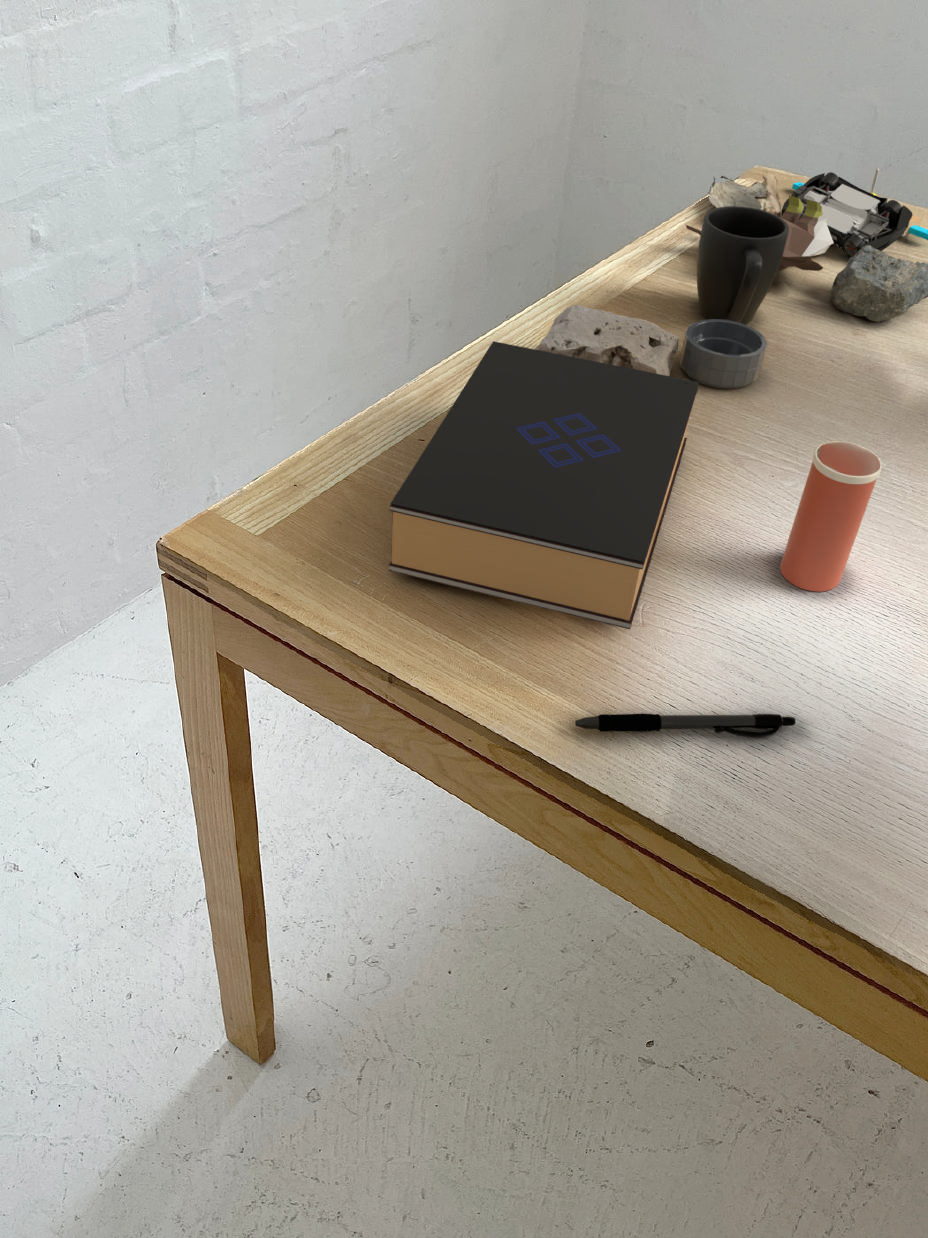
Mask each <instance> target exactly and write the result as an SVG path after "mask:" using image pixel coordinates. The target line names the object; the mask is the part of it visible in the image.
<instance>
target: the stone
mask: <svg viewBox="0 0 928 1238" xmlns="http://www.w3.org/2000/svg"><path fill="white" fill-rule="evenodd" d="M679 342H680V338H679V337H678V335H675V334H673V333H671V332H668V331H667V330H665V329H663V328H661V327H660V326H659V325H657V324H656V323H653V322H651V321H649V320H645V319H642V318H636V317H630V316H626V315H620V314H616V313H613V312H612V311H606V310H603V309H596V308H591V307H585V306H584V305H581V304H578V305H577V304H573V305H569V306H567V307H566V308H565V309H564V310H563V311H562V312H561V313H560V314H558V315H557V316H556V317H555V318H554V320H553V323H552V324H551V327H550V328H549V331H548V332H547V334H546V335H545V336H544V337H543V338H542V340H541V341H540V342H539V344H538V345H537V346H536V347H534V349H535V350H540V351H545V352H550V353H555V354H560V355H565V356H570V357H575V358H580V359H585V360H590V361H595V362H600V363H605V364H610V365H615V366H620V367H625V368H630V369H636V370H641V371H646V372H651V373H656V374H661V375H666V376H671V375H670V374H671V371H672V368H673V365H674V355H675V354H677V351H678V350H679Z"/></svg>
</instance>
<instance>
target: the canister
mask: <svg viewBox="0 0 928 1238" xmlns="http://www.w3.org/2000/svg"><path fill="white" fill-rule="evenodd" d="M882 468H883V463H882V461H881V459H880V457H879V456H878V455H877V454H876V453H875V452H873V451H872V450H870V449H868V448H867V447H864V446H863V445H859V444H857V443H854V442H850V441H842V440H833V441H827V442H824V443H821V444H820V445H818V446H817V447H816V449H815V450H814V452H813V456H812V462H811V465H810V467H809V472H808V475H807V478H806V481H805V484H804V486H803V487H804V488H803V490H802V494H801V497H800V501H799V504H798V507H797V510H796V513H795V516H794V518H793V519H794V520H793V522H792V526H791V529H790V532H789V536H788V539H787V542H786V546H785V548H784V550H783V551H784V552H783V555H782V558H781V561H780V565H779V570H780V572H781V575H782V576H783V577H784V578H785V580H787V582H789V583H790V584H792V585H793V586H795V587H797V588H800V589H802V590H806V591H809V592H815V593H816V592H820V593H821V592H827V591H831V590H834V589H835V588H836V587H838V586H839V584H840V582H841V580H842V577H843V574H844V572H845V568H846V566H847V563H848V561H849V557H850V554H851V552H852V549H853V547H854V543H855V540H856V538H857V536H858V533H859V529H860V527H861V524H862V521H863V519H864V516H865V514H866V511H867V508H868V506H869V505H868V504H869V502H870V500H871V496H872V493H873V491H874V488H875V485H876V483H877V480H878V477H879V476H880V473H881V471H882Z"/></svg>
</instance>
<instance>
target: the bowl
mask: <svg viewBox="0 0 928 1238" xmlns="http://www.w3.org/2000/svg"><path fill="white" fill-rule="evenodd" d="M767 346H768V341H767V339H766V337H765V336H764V335H763V334H762V333H761V332H760V331H759V330H757V329H755V328H754V327H752V326H750V325H748V324H742V323H739V322H735V321H730V320H723V319H701V320H697V321H694V322H692V323H691V324H690V325H689V326H687V328H686V330H685V333H684V338H683V342H682V349H681V351H680V352H681V353H680V356H679V364H680V367H681V369H682V370H683V371H684V373H686V375H687V376H688V377H689V378H691V379H692V380H693V381H696V382H699V383H698V384H701V385H704V386H706V387H710V388H717V389H723V390H724V389H725V390H729V389H730V390H731V389H732V390H733V389H741V388H744V387H745V386H747V385H750V384H752V383H753V382H755V381H756V380H758V378H759V376H760V373H761V369H762V365H763V361H764V358H765V355H766V350H767Z"/></svg>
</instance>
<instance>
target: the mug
mask: <svg viewBox="0 0 928 1238" xmlns="http://www.w3.org/2000/svg"><path fill="white" fill-rule="evenodd" d="M700 230H701V235H699V242H698V246H697V255H696V256H697V257H696V289H697V298H698V300H697V301H698V311H699V313H700V315H701V316H702V317H703V318H705V320H708V319H723V320H730V321H735V322H739V323H742V324H745V325H748V324H749V323H751V322H752V321H753V319H754V318H755V315H756V313H757V311H758V309H759V307H760V306H761V304H762V303H763V301H764V299H765V298H766V296H767V295H768V292H769V290H770V289H771V287H772V285H773V282H774V280H775V278H776V276H777V274H778V269H779V266H780V263H781V260H782V256H783V253H784V249H785V245H786V241H787V237H788V233H789V226H788V225H787V223H786V222H785V221H784V220H783V219H781V218H780V217H778V216H776V215H774V214H772V213H769V212H766V211H763V210H759V209H755V208H749V207H739V206H726V207H719V208H716V207H715V208H713V209H710V210H708V211H707V212H706V213H705V214H704V216H703V220H702V226H701V229H700Z"/></svg>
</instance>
